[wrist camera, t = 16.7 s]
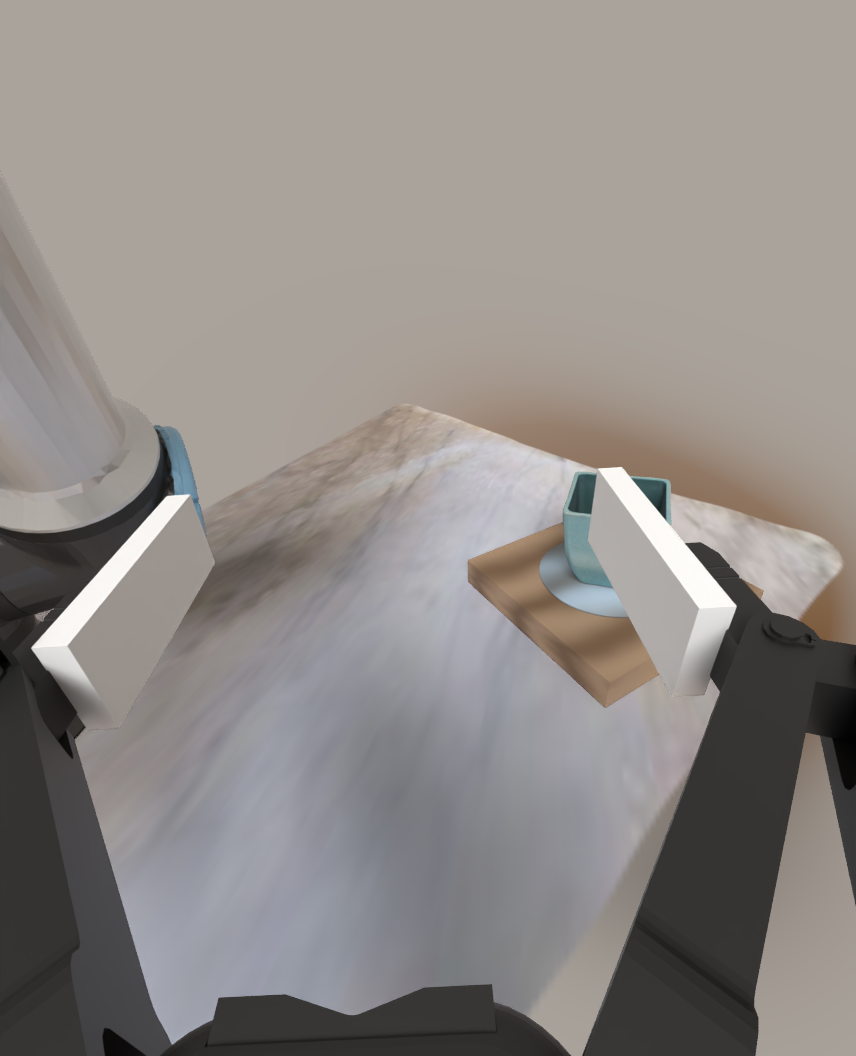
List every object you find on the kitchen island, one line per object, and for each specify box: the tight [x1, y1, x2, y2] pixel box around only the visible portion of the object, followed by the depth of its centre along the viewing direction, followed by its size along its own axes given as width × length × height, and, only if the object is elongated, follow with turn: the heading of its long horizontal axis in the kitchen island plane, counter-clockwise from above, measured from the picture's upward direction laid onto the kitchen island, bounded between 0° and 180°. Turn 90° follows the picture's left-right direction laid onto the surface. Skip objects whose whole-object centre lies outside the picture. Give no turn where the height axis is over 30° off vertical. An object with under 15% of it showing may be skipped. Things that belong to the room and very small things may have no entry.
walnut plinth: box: [468, 522, 764, 708], centre depth 50 cm, size 20×20×3 cm
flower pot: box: [563, 472, 672, 588], centre depth 47 cm, size 9×9×9 cm
